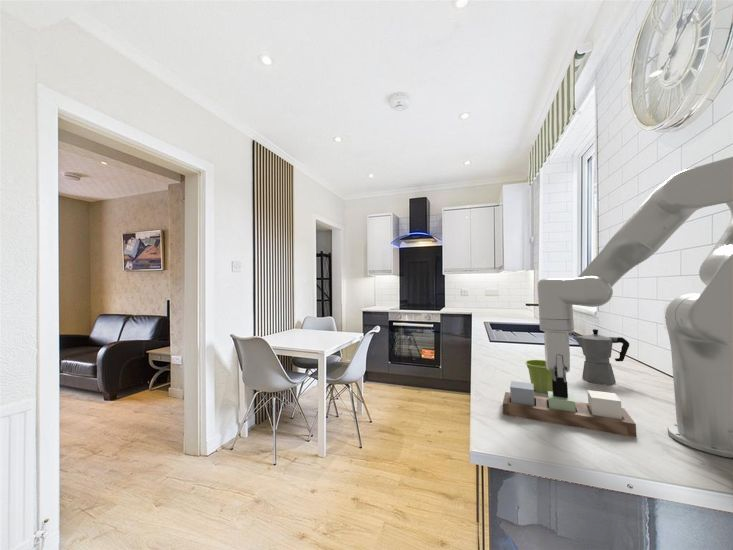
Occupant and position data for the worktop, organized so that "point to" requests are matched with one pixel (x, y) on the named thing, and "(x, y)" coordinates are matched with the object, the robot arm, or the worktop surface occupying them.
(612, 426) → the button housing
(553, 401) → the sage button
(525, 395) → the grey button
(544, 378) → the plant pot
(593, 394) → the white button
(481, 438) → the worktop surface
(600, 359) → the coffeepot
